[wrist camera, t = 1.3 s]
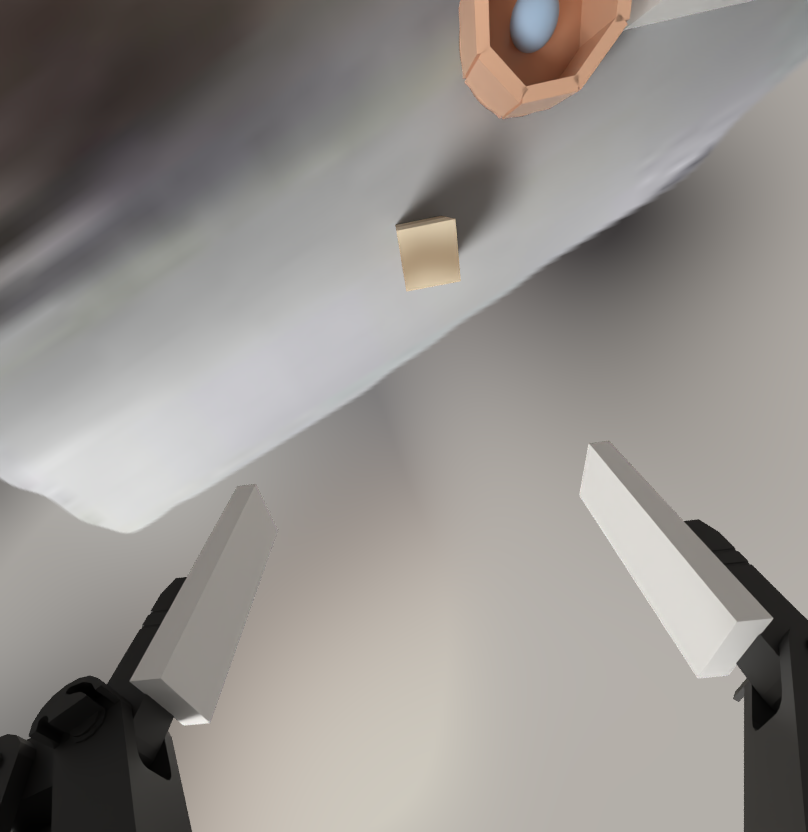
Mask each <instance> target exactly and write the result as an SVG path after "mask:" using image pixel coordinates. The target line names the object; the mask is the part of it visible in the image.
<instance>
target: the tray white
mask: <svg viewBox="0 0 808 832" xmlns="http://www.w3.org/2000/svg"><path fill="white" fill-rule="evenodd" d="M749 1H754V0H632V4H631V12H630V19H629V20H628V21H626V22H627V26H626V27H625V29H624V30H627V29H632V28H636V27H641V26H645V25H649V24H654V23H658V22H662V21H667V20H671V19H675V18H680V17H684V16H688V15H693V14H697V13H701V12H706V11H710V10H715V9H719V8H723V7H728V6H732V5H736V4H741V3H745V2H749Z"/></svg>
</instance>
